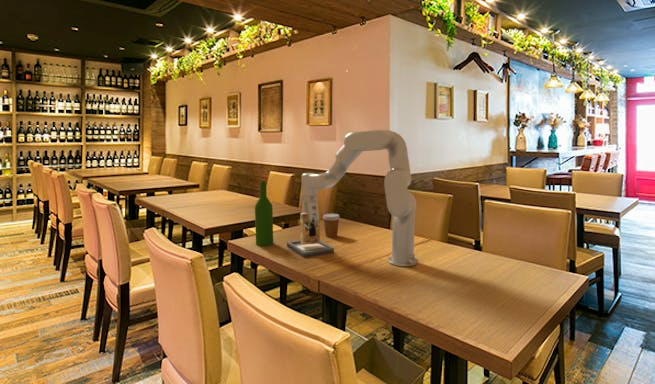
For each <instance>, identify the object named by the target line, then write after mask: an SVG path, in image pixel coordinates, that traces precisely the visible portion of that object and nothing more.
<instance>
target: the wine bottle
mask: <svg viewBox="0 0 655 384" xmlns="http://www.w3.org/2000/svg"><path fill="white" fill-rule="evenodd" d="M259 185H260V186H259V187H260V188H259V191H260V195H259V198H258V200H257V201H256V204H255V206H254V214H255V215H254V217H255V218H254V219H255V221H254V223H255V224H254V225H255V245H256V246H258V247H259V246H260V247H269V246H272V245H273V244H274V219H273V218H274V217H273V216H274V213H273V212H274V211H273V204H272V203H271V201H270V199H269V198H268V197H267V181H260V182H259Z"/></svg>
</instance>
